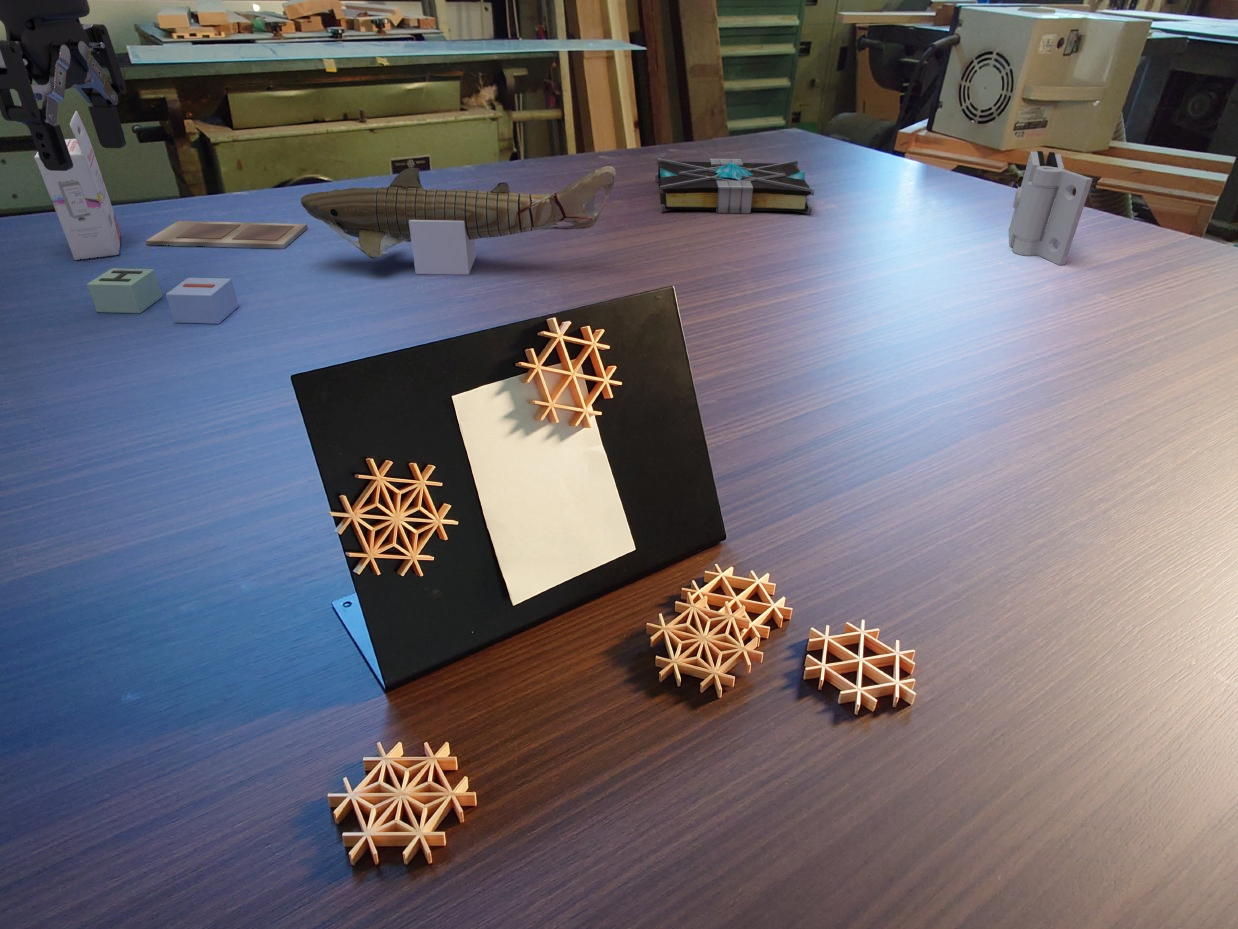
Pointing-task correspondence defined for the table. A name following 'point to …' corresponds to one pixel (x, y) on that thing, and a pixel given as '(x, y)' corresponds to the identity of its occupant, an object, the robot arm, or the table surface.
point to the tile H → (125, 290)
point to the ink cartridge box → (83, 200)
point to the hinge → (1047, 208)
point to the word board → (228, 234)
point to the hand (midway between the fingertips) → (88, 158)
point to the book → (732, 186)
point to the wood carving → (451, 216)
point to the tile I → (202, 300)
